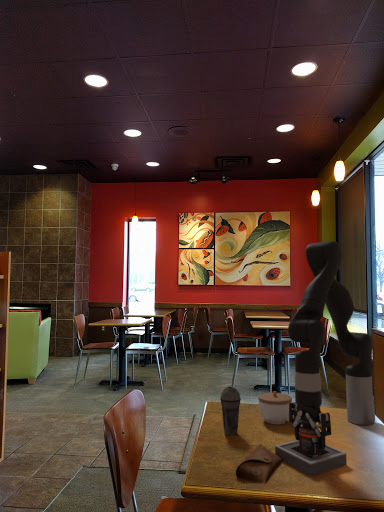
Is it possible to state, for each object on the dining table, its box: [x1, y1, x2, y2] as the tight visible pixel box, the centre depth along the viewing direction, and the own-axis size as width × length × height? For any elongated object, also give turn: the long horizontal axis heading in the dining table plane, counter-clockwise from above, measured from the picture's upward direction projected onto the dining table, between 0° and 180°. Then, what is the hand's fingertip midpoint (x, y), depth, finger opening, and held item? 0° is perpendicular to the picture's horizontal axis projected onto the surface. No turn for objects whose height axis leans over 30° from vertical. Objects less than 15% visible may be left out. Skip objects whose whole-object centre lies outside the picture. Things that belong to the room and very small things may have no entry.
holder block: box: [274, 439, 347, 477], centre depth 113 cm, size 14×14×3 cm
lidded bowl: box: [257, 390, 293, 425], centre depth 148 cm, size 13×13×11 cm
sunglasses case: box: [235, 443, 283, 485], centre depth 109 cm, size 18×7×7 cm
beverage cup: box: [220, 373, 242, 436], centre depth 136 cm, size 7×7×20 cm
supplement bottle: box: [299, 420, 321, 458], centre depth 113 cm, size 6×6×11 cm
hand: (309, 444), depth 113 cm, fingers open, 8 cm apart
